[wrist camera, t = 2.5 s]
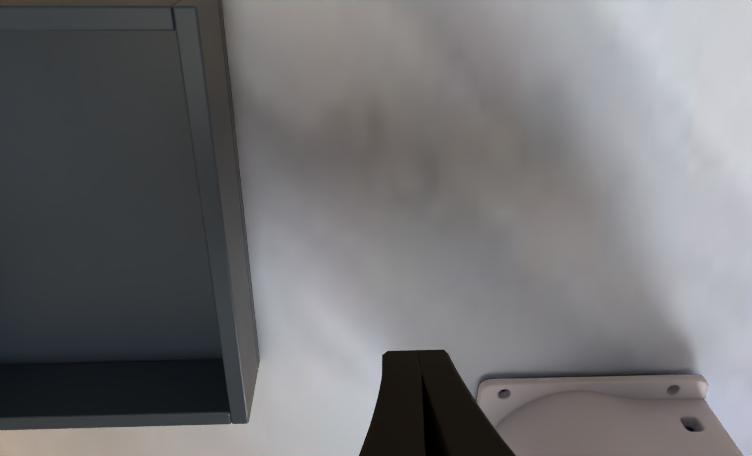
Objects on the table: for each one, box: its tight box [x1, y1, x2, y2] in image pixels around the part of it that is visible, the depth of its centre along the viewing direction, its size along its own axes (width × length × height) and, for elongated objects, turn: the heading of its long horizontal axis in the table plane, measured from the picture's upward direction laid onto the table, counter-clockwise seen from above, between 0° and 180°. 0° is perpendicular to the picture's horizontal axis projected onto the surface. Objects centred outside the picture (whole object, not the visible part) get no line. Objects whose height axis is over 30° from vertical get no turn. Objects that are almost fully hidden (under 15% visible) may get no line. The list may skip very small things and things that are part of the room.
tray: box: [0, 0, 260, 430], centre depth 20 cm, size 11×14×3 cm
